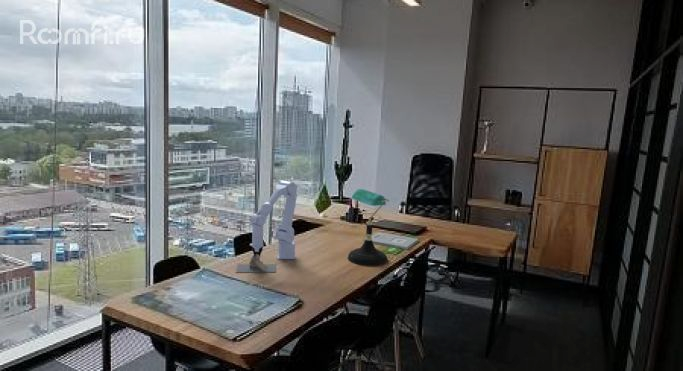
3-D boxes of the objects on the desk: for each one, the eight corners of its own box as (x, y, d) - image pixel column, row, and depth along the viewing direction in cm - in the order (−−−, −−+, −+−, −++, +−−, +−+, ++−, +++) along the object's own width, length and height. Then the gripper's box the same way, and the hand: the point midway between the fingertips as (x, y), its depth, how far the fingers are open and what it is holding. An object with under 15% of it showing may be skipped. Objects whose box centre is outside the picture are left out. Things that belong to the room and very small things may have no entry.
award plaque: (377, 234, 310) (378, 232, 310) (418, 241, 297) (418, 238, 296) (363, 242, 288) (364, 239, 288) (406, 250, 275) (406, 247, 275)
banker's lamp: (339, 254, 258) (343, 188, 252) (372, 251, 268) (376, 187, 262) (361, 268, 234) (366, 196, 229) (396, 264, 245) (401, 195, 239)
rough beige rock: (257, 274, 219) (257, 260, 217) (246, 265, 230) (246, 251, 229) (268, 272, 222) (268, 258, 221) (257, 263, 234) (257, 250, 232)
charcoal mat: (275, 264, 234) (275, 264, 234) (275, 272, 222) (275, 271, 222) (238, 264, 231) (238, 264, 231) (236, 272, 219) (236, 272, 219)
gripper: (250, 232, 238) (250, 256, 240) (249, 239, 224) (248, 265, 226) (263, 232, 239) (263, 256, 241) (263, 240, 225) (262, 265, 227)
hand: (257, 260), depth 233 cm, fingers closed
